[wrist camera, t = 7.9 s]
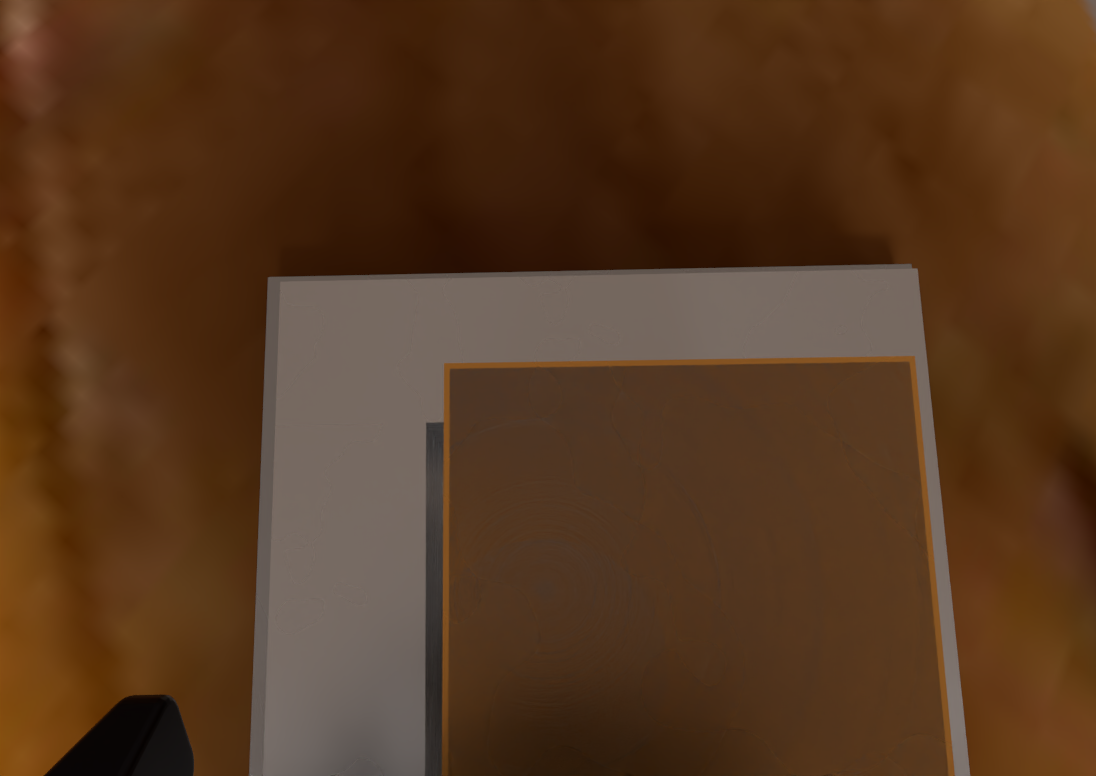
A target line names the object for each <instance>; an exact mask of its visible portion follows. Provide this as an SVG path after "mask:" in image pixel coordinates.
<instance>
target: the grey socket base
mask: <svg viewBox="0 0 1096 776" xmlns="http://www.w3.org/2000/svg"><path fill="white" fill-rule="evenodd" d="M877 356H915V363H916V373H917V384H918V394H919V405H920V415H921V425H922V436H923V446H924V457H925V467H926V478H927V488H928V499H929V509H930V520H931V530H932V541H933V551H934V562H935V572H936V582H937V593H938V603H939V614H940V624H941V635H942V645H943V656H944V666H945V677H946V687H947V698H948V708H949V719H950V729H951V740H952V750H953V760H954V771H955V776H970V770H969V760H968V750H967V741H966V731H965V721H964V712H963V702H962V693H961V683H960V673H959V664H958V654H957V645H956V635H955V625H954V616H953V606H952V596H951V587H950V577H949V568H948V558H947V548H946V539H945V529H944V520H943V510H942V500H941V491H940V481H939V471H938V462H937V452H936V443H935V433H934V423H933V414H932V404H931V395H930V385H929V375H928V366H927V356H926V346H925V337H924V327H923V318H922V308H921V298H920V289H919V279H918V270H917V269H912V265H911V264H882V265H833V266H784V267H735V268H687V269H638V270H589V271H540V272H492V273H443V274H394V275H345V276H297V277H268V290H267V317H266V343H265V370H264V396H263V423H262V449H261V476H260V502H259V529H258V555H257V582H256V608H255V635H254V661H253V688H252V714H251V741H250V767H249V776H442V654H443V467H444V363H489V362H554V361H618V360H683V359H748V358H812V357H877Z"/></svg>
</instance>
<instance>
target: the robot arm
mask: <svg viewBox="0 0 1096 776" xmlns="http://www.w3.org/2000/svg"><path fill="white" fill-rule="evenodd" d="M193 772H194V758H193V752H192V748H191V745H190V742H189V739H188V736H187V733H186V730H185V727H184V723H183V720H182V717H181V714H180V711H179V708H178V705H177V703H176V701H175V700H174V699H173V698H172V697H171V696H169V695H133V696H128V697H126V698H124V699H122V700H121V701H119V702H118V703H117V704H116V705H115V706H114V707H113V708H112V709H111V710H110V711H109V712H108V713H107V714H106V715H105V716H104V717H103V718H102V719H101V720H100V721H99V722H98V723H97V724H96V725H95V726H94V727H92V728H91V729H90V730H89V731H88V732H87V733H86V734H85V735H84V736H83V737H82V738H81V739H80V740H79V741H78V742H77V743H76V744H75V745H74V746H73V747H72V748H71V749H70V750H69V751H68V752H67V753H66V754H65V755H64V756H63V757H62V758H61V759H60V760H59V761H58V762H57V763H56V764H55V765H54V766H53V767H52V768H51V769H50V770H49V771H48V772H47V773H46V774H45V775H44V776H193Z"/></svg>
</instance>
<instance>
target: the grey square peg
mask: <svg viewBox="0 0 1096 776" xmlns="http://www.w3.org/2000/svg"><path fill="white" fill-rule="evenodd" d="M442 776H955V771H954V760H953V750H952V740H951V729H950V719H949V708H948V698H947V687H946V677H945V666H944V656H943V645H942V635H941V624H940V614H939V603H938V593H937V582H936V572H935V562H934V551H933V541H932V530H931V520H930V509H929V499H928V488H927V478H926V467H925V457H924V446H923V436H922V425H921V415H920V405H919V394H918V384H917V373H916V363H915V356H877V357H812V358H748V359H683V360H618V361H554V362H489V363H444V467H443V654H442Z"/></svg>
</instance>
